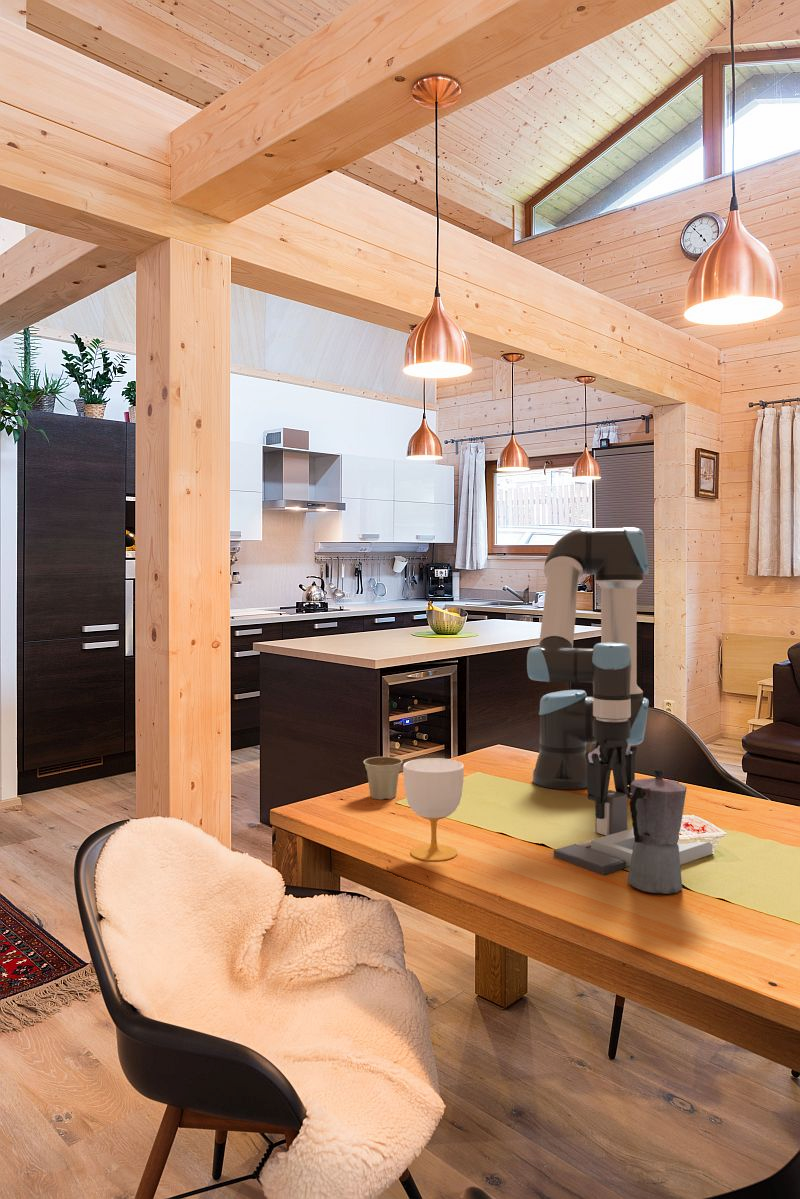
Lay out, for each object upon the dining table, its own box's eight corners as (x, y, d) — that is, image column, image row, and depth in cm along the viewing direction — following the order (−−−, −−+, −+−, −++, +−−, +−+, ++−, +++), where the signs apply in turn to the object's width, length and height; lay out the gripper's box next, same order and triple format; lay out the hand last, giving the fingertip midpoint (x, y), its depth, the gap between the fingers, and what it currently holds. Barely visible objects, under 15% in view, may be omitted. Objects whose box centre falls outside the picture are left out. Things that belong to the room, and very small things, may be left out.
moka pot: (700, 881, 142) (700, 766, 141) (662, 908, 130) (662, 784, 129) (648, 868, 148) (648, 758, 147) (607, 893, 136) (607, 774, 136)
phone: (575, 849, 158) (575, 843, 158) (625, 867, 148) (625, 860, 148) (553, 856, 154) (553, 849, 154) (603, 875, 145) (603, 867, 145)
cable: (612, 837, 165) (612, 832, 165) (616, 839, 164) (616, 834, 164) (575, 848, 159) (575, 843, 159) (579, 850, 158) (579, 845, 158)
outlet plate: (650, 835, 167) (650, 821, 166) (712, 853, 155) (712, 839, 155) (591, 853, 156) (591, 839, 156) (652, 874, 145) (652, 859, 145)
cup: (442, 868, 148) (441, 775, 148) (391, 855, 156) (390, 766, 155) (476, 850, 158) (476, 763, 157) (426, 839, 165) (426, 755, 164)
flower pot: (399, 802, 192) (399, 766, 191) (360, 801, 193) (359, 764, 193) (405, 792, 201) (405, 757, 201) (367, 790, 202) (367, 756, 202)
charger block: (609, 827, 172) (609, 789, 171) (627, 833, 168) (627, 794, 168) (595, 831, 169) (595, 793, 169) (612, 837, 165) (612, 797, 165)
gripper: (624, 711, 176) (624, 819, 177) (568, 720, 166) (568, 834, 166) (653, 716, 170) (653, 827, 171) (597, 726, 160) (596, 844, 160)
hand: (611, 830), depth 168 cm, fingers open, 4 cm apart
